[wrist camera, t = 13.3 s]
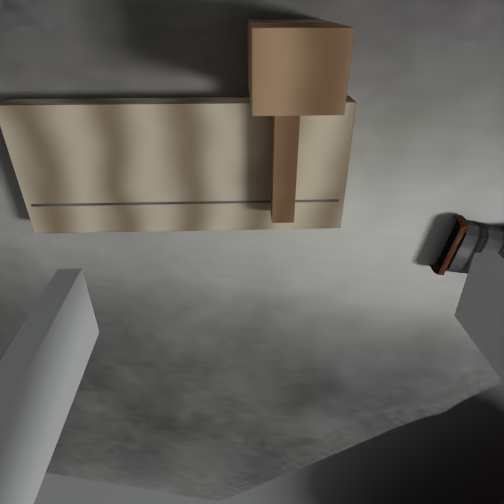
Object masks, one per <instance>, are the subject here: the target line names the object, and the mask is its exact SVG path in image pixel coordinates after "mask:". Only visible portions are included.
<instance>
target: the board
mask: <svg viewBox="0 0 504 504" xmlns="http://www.w3.org/2000/svg"><path fill="white" fill-rule="evenodd" d="M355 110H356V102H355V101H354V100H353V99H352V98H351V97H350V96H347V97H346V106H345V115H314V116H300V128H299V145H298V162H297V179H296V196H295V213H294V223H272V219H271V174H272V133H273V116H252V110H251V103H250V97H209V98H90V99H7V100H5V101H3V102H1V103H0V127H1V130H2V133H3V136H4V139H5V142H6V146H7V149H8V152H9V155H10V158H11V161H12V164H13V167H14V170H15V173H16V177H17V180H18V183H19V186H20V189H21V192H22V195H23V198H24V201H25V205H26V208H27V211H28V214H29V217H30V220H31V223H32V226H33V229H34V232H35V233H84V232H141V231H198V230H255V229H312V228H341V220H342V212H343V204H344V196H345V188H346V181H347V173H348V165H349V157H350V149H351V142H352V134H353V126H354V118H355Z"/></svg>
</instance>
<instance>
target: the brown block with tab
mask: <svg viewBox="0 0 504 504" xmlns="http://www.w3.org/2000/svg"><path fill="white" fill-rule="evenodd" d="M353 36H354V27H350V26H346V25H342V24H338V23H334V22H330V21H326V20H322V19H258V20H248V89H249V96H250V103H251V110H252V116H273V133H272V174H271V219H272V223H294V213H295V196H296V179H297V162H298V145H299V128H300V116H314V115H345V106H346V97H347V89H348V80H349V71H350V62H351V54H352V45H353Z"/></svg>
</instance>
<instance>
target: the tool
mask: <svg viewBox="0 0 504 504" xmlns="http://www.w3.org/2000/svg"><path fill="white" fill-rule="evenodd" d="M454 217H456V218H457V222H456V224H455V226H454V228H453V230H452V232H451V234H450V236H449V238H448V240H447V242H446V244H445V246H444V249H443V251H442V253H441V255H440V257H439V259H438V261H437V263H436V265H430V266H431V268H432V270H433V271H434V272H435V273H436V274H439V275H444V273H445V271H451V272H459V273H468V272H469V269H470V265H471V262H472V259H473V256H474V253H484V252H497V253H498V254H499V255H500V256H501V257H502V258H504V228H499V227H494V226H489V225H484V224H480V223H475V222H470V221H466V219H465V218H464V217H463V216H461V215H458V216H454Z"/></svg>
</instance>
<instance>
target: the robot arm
mask: <svg viewBox="0 0 504 504" xmlns="http://www.w3.org/2000/svg"><path fill="white" fill-rule="evenodd" d="M455 317H456V318H457V320H458V321H459V322H460V324H461V325H462V326H463V328H464V329H465V331H466V332H467V333H468V335H469V336H470V337H471V339H472V340H473V341H474V343H475V344H476V346H477V347H478V348H479V350H480V351H481V352H482V354H483V355H484V356H485V358H486V359H487V361H488V362H489V363H490V365H491V366H492V367H493V369H494V370H495V371H496V373H497V374H498V375H499V377H500V378H501V380H502V381H503V382H504V258H502V257H501V256H500V255H499V254H498V253H497V252H484V253H474V256H473V259H472V262H471V265H470V269H469V272H468V275H467V278H466V281H465V284H464V288H463V291H462V294H461V297H460V300H459V303H458V306H457V310H456V313H455ZM98 334H99V330H98V326H97V323H96V319H95V315H94V312H93V308H92V304H91V301H90V297H89V293H88V289H87V286H86V282H85V278H84V275H83V271H82V269H58V270H57V272H56V273H55V275H54V276H53V278H52V280H51V281H50V283H49V284H48V286H47V288H46V289H45V291H44V292H43V294H42V296H41V297H40V299H39V300H38V302H37V304H36V305H35V307H34V308H33V310H32V312H31V313H30V315H29V316H28V318H27V320H26V321H25V323H24V324H23V326H22V328H21V329H20V331H19V332H18V334H17V335H16V337H15V339H14V340H13V342H12V343H11V345H10V347H9V348H8V350H7V351H6V353H5V355H4V356H3V358H2V359H1V361H0V504H34V501H35V499H36V496H37V493H38V491H39V488H40V486H41V483H42V480H43V478H44V475H45V473H46V470H47V467H48V465H49V462H50V460H51V457H52V454H53V452H54V449H55V446H56V444H57V441H58V439H59V436H60V433H61V431H62V428H63V425H64V423H65V420H66V418H67V415H68V412H69V410H70V407H71V405H72V402H73V399H74V397H75V394H76V391H77V389H78V386H79V384H80V381H81V378H82V376H83V373H84V370H85V368H86V365H87V363H88V360H89V357H90V355H91V352H92V350H93V347H94V344H95V342H96V339H97V336H98Z"/></svg>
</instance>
